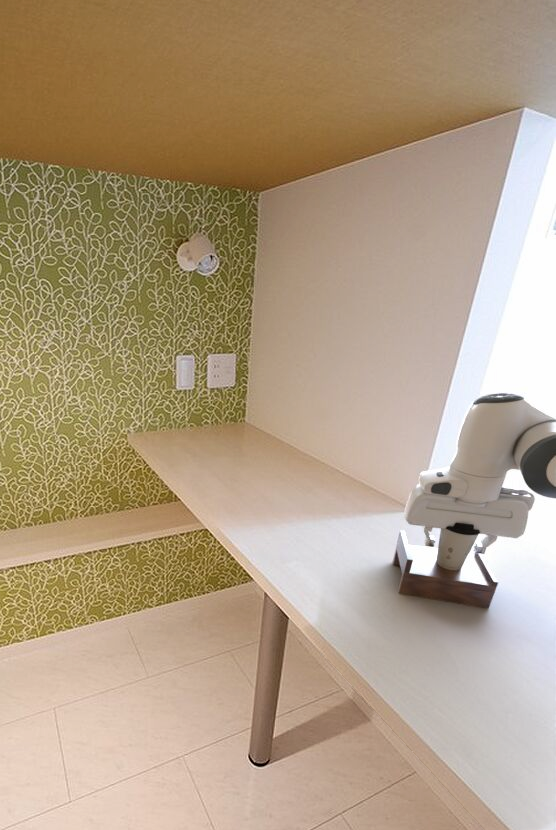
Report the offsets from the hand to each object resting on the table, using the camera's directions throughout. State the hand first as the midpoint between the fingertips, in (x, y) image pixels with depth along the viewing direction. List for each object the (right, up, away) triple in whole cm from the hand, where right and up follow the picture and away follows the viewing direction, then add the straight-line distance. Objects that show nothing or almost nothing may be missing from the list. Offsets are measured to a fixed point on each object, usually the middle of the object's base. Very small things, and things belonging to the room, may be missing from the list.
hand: (453, 548), depth 85 cm
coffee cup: (0, -3, +2) cm, 4 cm away
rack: (-1, -7, +4) cm, 9 cm away
